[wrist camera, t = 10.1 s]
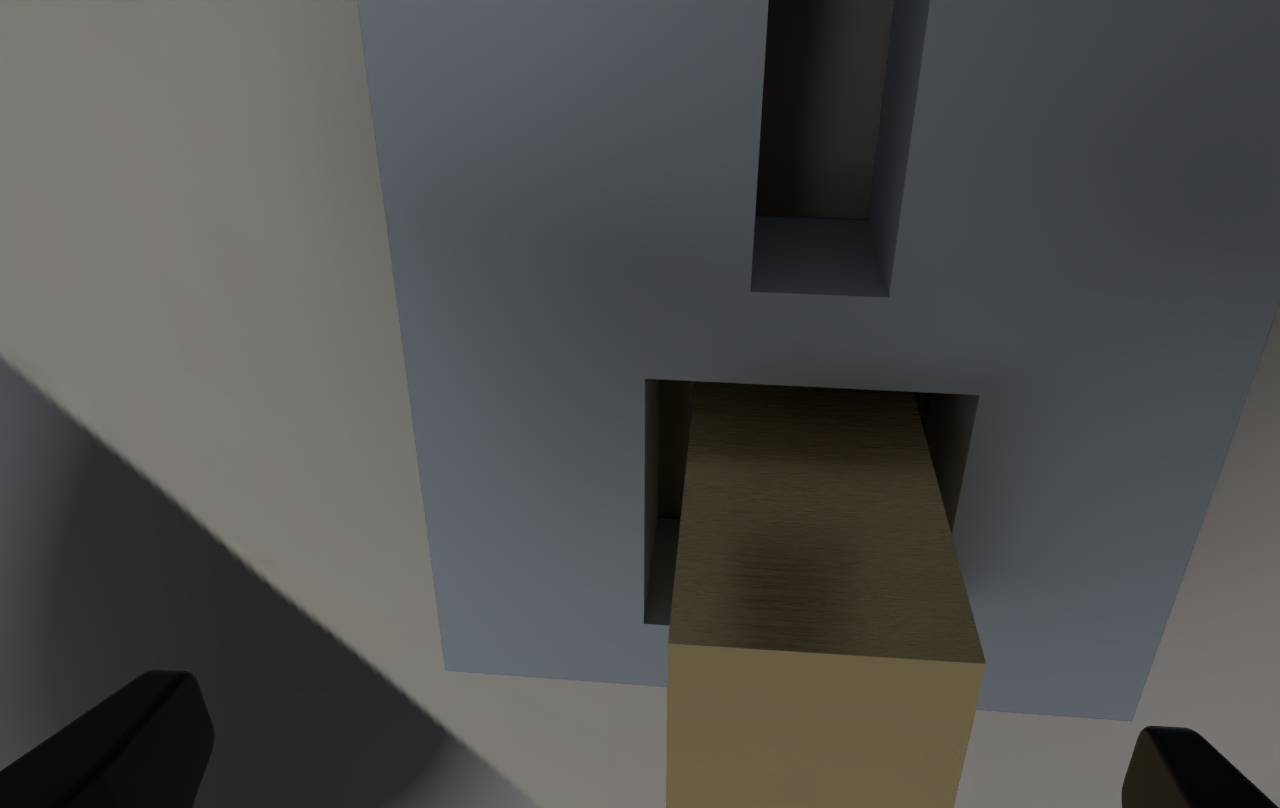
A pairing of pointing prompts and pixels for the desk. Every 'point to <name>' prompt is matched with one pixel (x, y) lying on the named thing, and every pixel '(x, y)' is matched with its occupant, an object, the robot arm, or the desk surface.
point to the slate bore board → (828, 302)
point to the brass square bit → (816, 608)
